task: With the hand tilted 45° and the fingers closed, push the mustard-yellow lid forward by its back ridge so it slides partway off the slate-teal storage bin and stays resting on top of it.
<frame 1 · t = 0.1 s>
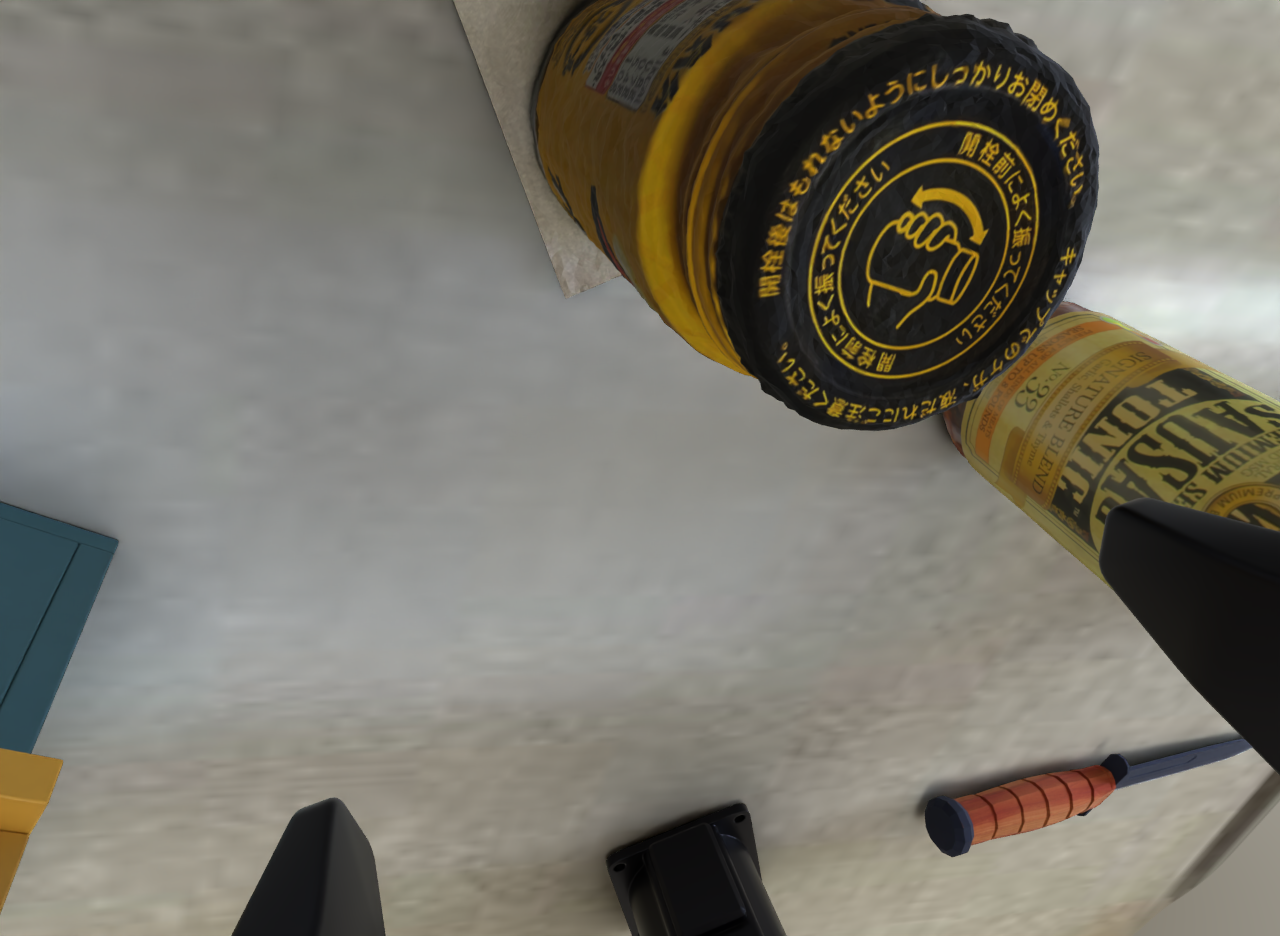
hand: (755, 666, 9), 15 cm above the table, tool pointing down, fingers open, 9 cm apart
knife: (1110, 763, 44), on the table
condiment: (642, 81, 20), on the table
sauce bottle: (1002, 380, 28), on the table
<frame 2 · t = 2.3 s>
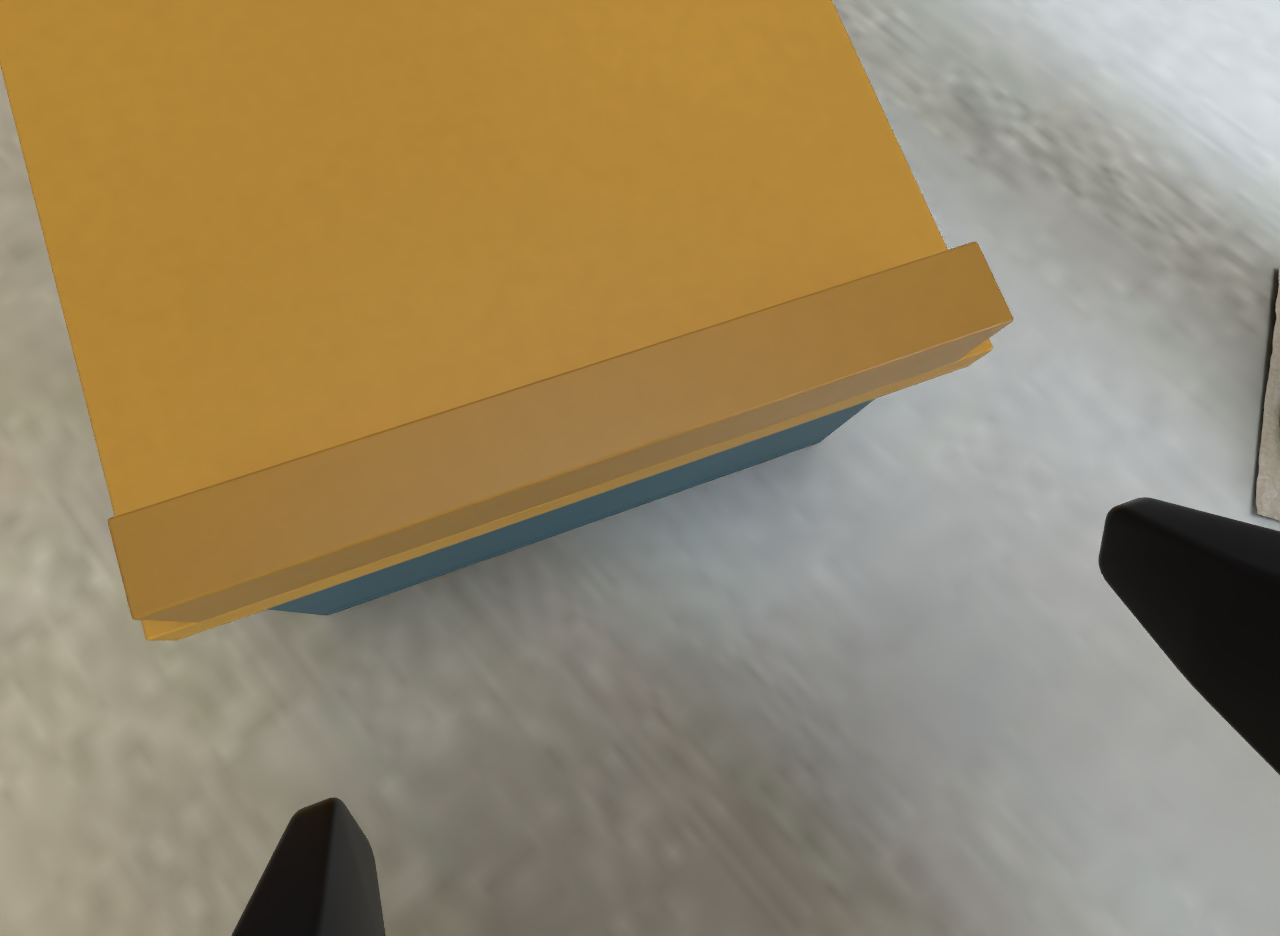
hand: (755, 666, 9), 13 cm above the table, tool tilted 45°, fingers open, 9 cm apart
bin lid: (488, 177, 16), point 8 cm above the table, touching storage bin
storage bin: (513, 322, 24), on the table
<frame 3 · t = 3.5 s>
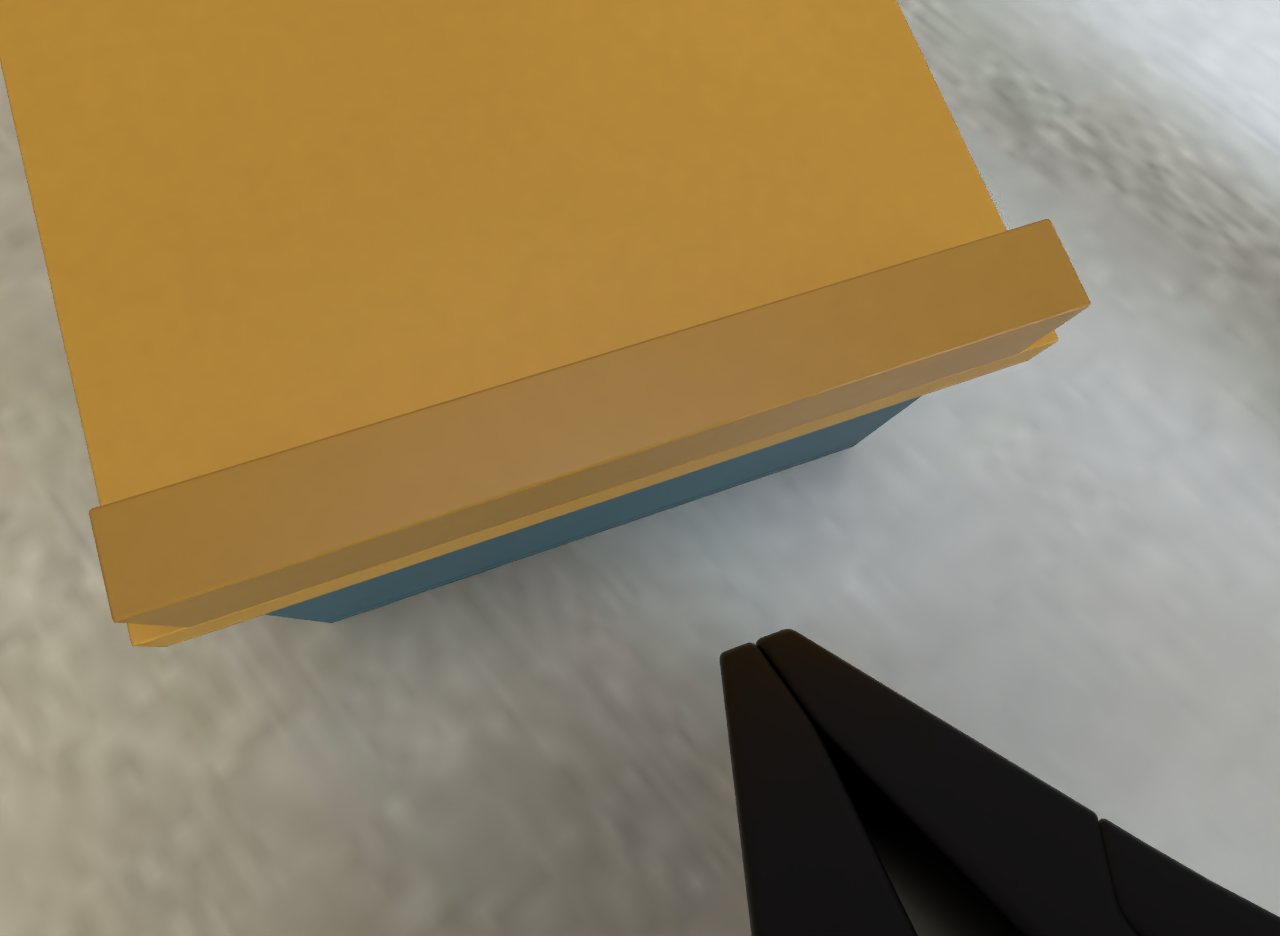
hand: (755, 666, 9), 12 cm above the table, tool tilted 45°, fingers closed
bin lid: (512, 152, 15), point 8 cm above the table, touching storage bin
storage bin: (531, 317, 22), on the table
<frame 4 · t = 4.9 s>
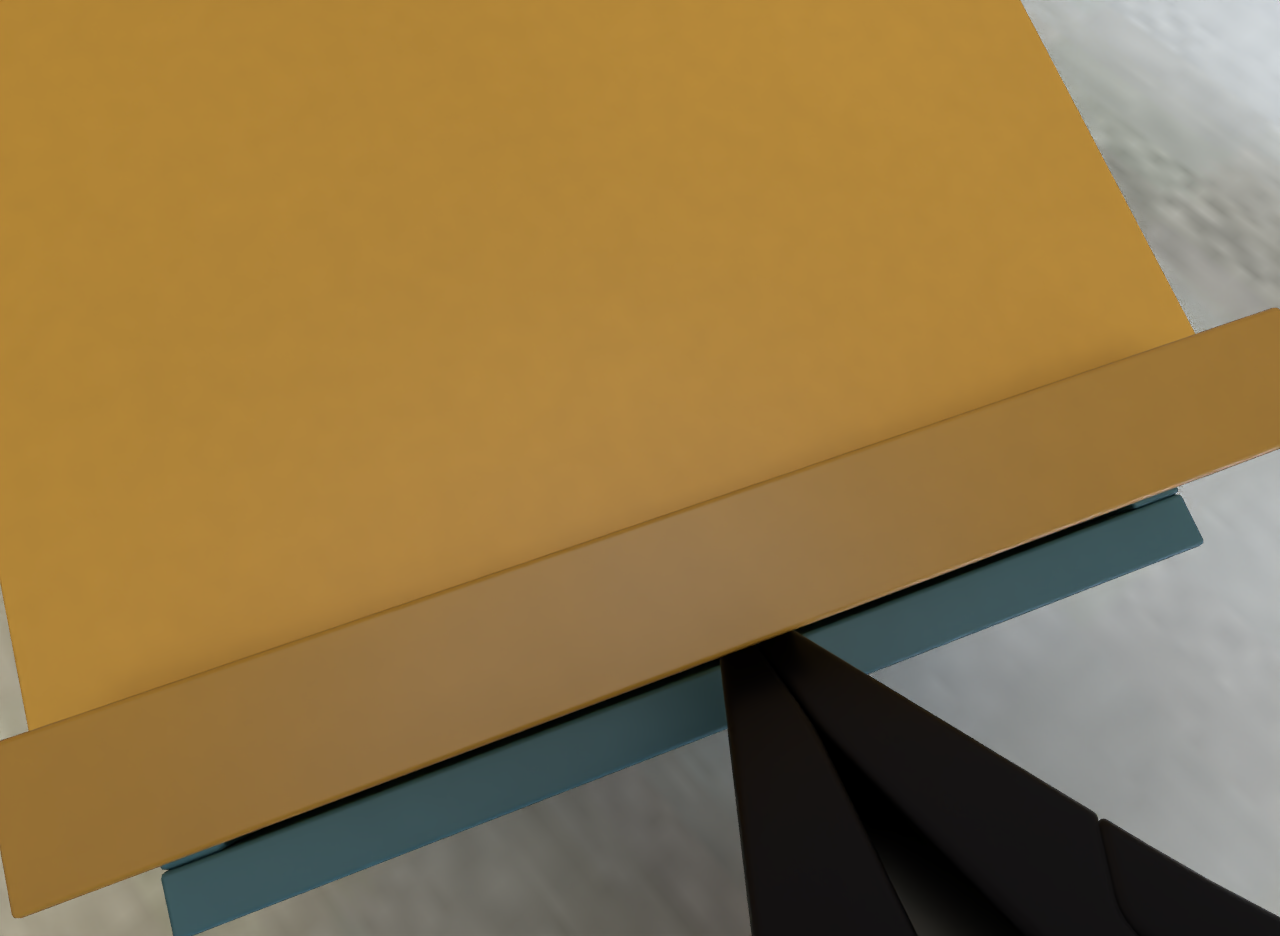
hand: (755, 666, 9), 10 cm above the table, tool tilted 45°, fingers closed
bin lid: (555, 207, 12), point 8 cm above the table, touching storage bin
storage bin: (583, 438, 19), on the table
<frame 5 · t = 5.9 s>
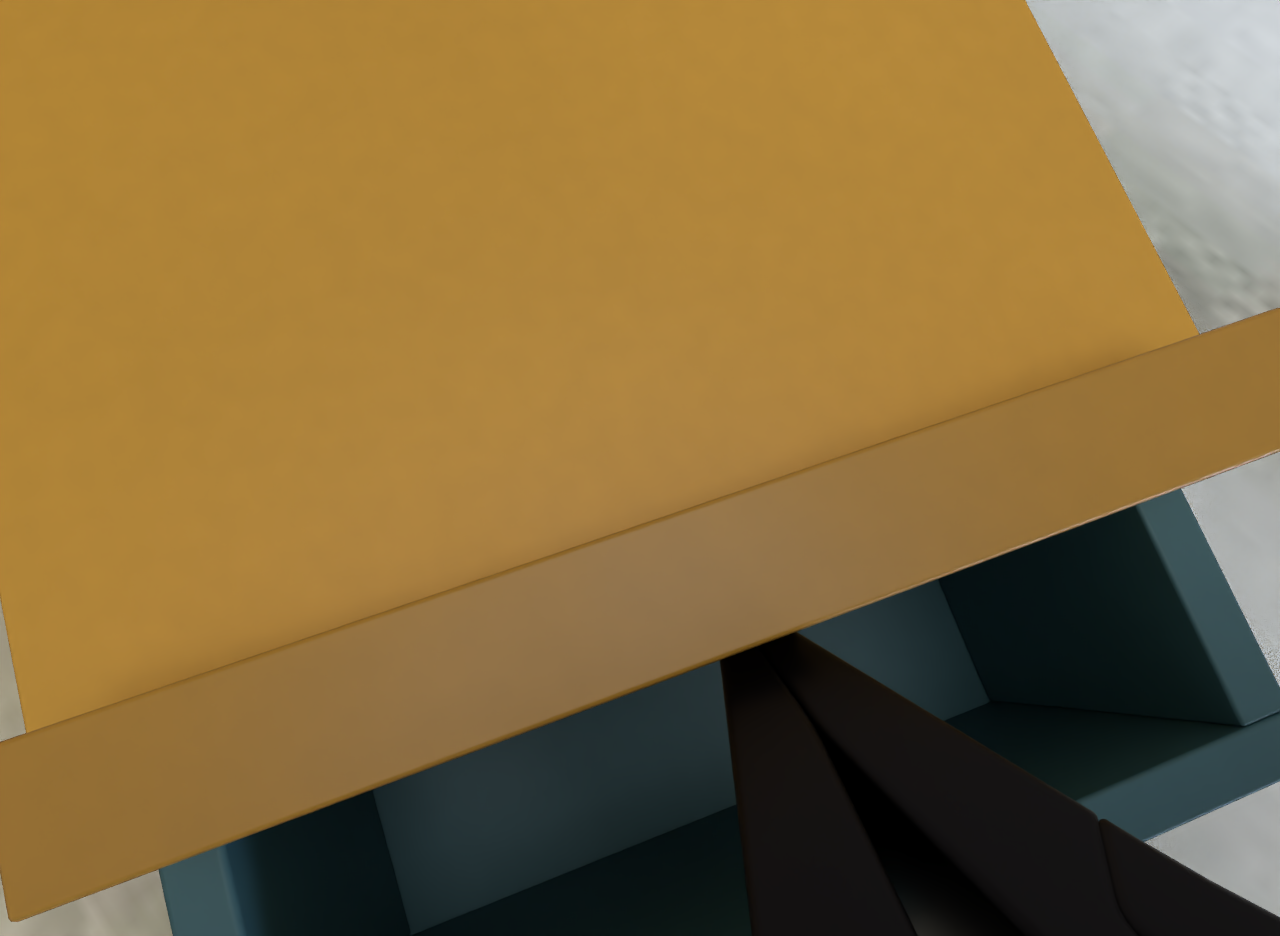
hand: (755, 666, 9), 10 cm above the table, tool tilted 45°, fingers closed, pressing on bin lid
bin lid: (555, 206, 12), point 8 cm above the table, touching gripper, storage bin
storage bin: (628, 565, 18), on the table
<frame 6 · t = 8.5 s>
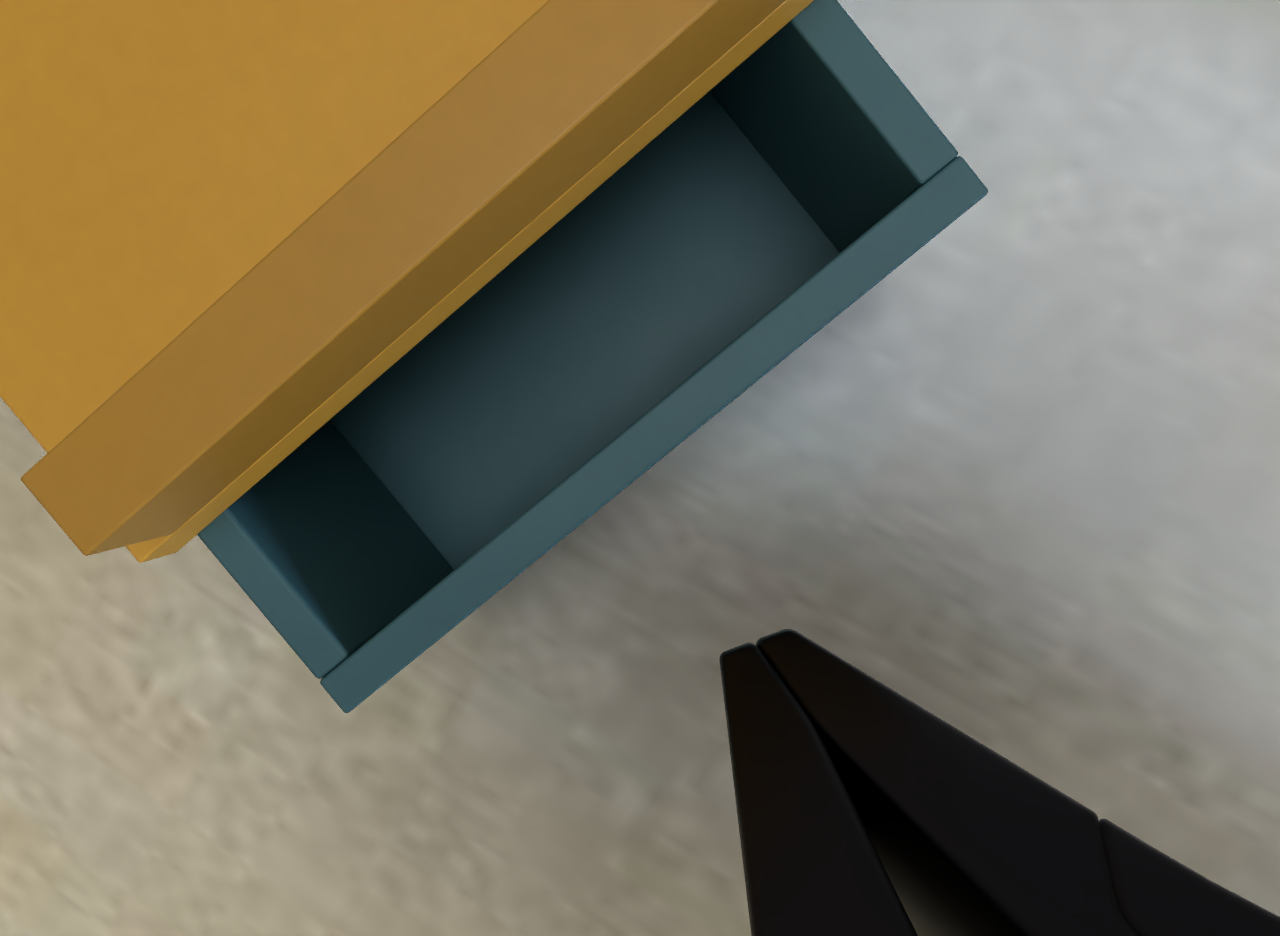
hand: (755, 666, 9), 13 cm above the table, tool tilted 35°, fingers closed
storage bin: (517, 262, 22), on the table
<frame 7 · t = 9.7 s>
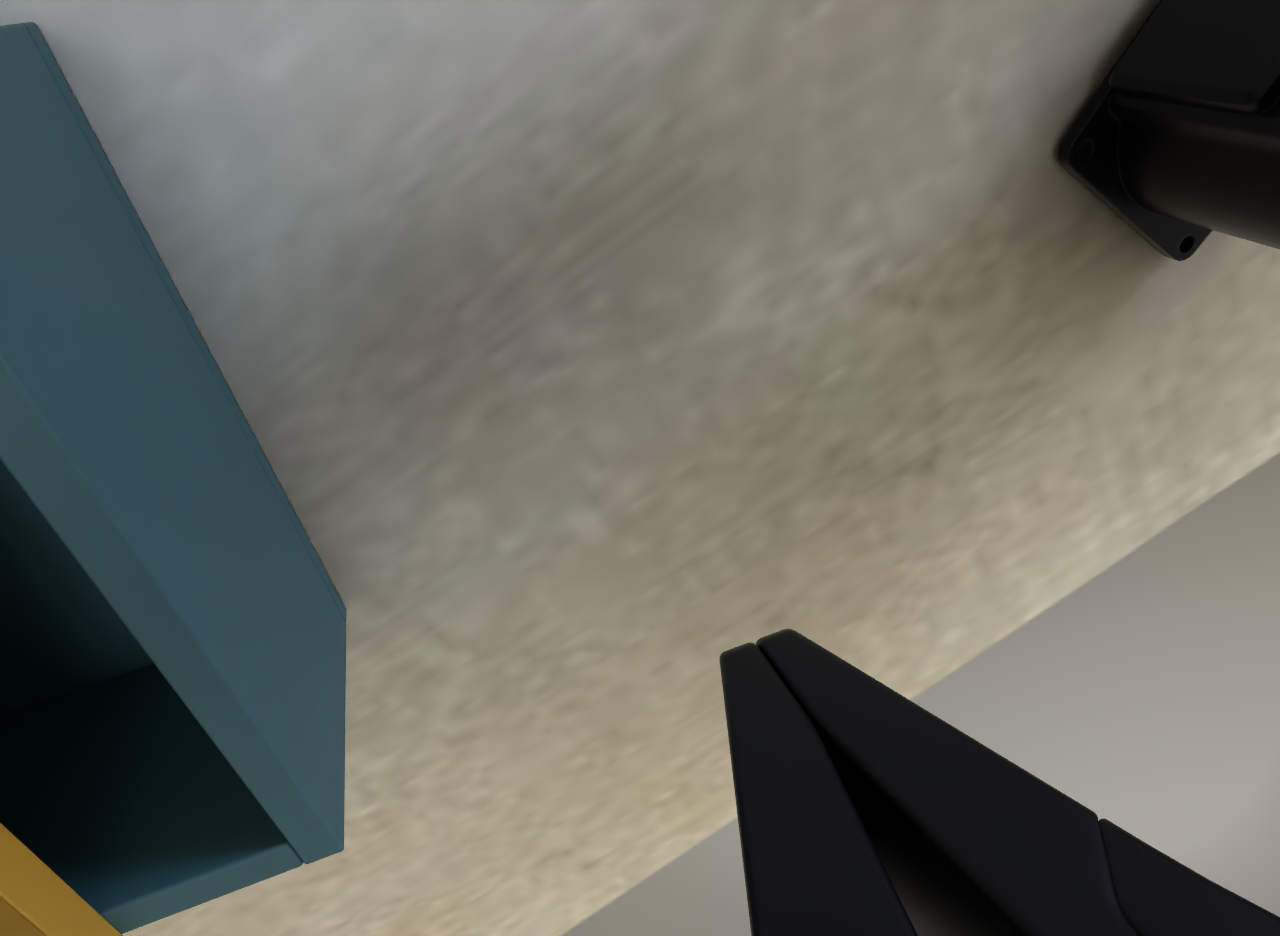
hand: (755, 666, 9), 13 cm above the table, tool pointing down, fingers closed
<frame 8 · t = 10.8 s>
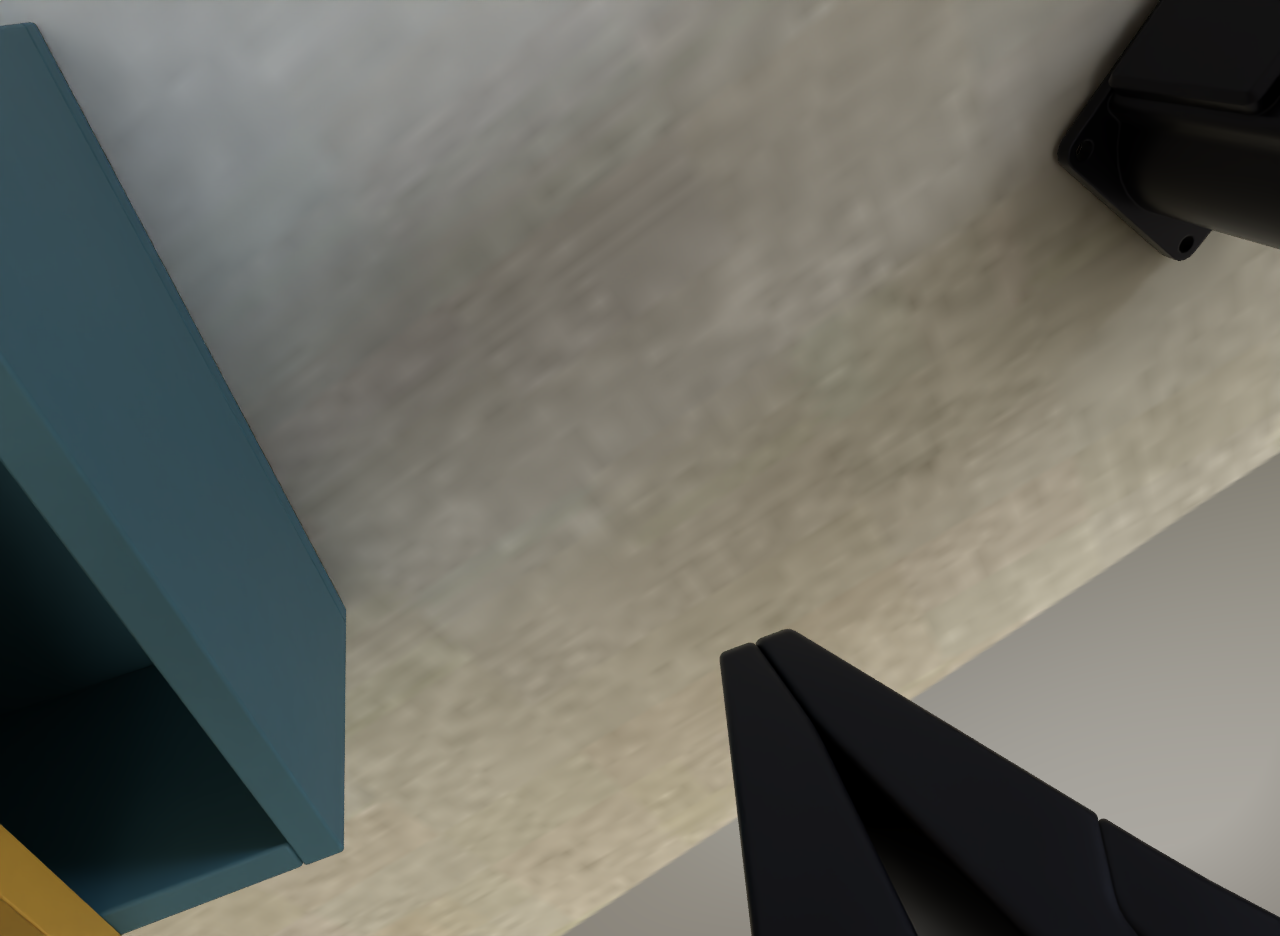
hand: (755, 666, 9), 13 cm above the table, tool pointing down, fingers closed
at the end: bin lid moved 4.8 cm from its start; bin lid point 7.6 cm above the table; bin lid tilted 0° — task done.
